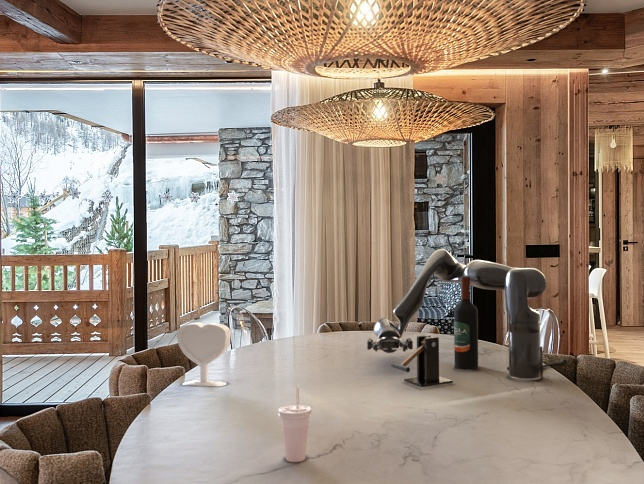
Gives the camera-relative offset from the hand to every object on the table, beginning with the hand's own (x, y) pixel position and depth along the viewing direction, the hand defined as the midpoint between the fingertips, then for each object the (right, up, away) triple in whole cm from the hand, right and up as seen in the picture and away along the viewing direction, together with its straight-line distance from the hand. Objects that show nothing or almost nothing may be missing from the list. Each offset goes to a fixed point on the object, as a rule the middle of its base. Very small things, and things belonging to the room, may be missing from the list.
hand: (390, 348), depth 184 cm
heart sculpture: (-56, -10, -4) cm, 57 cm away
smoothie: (-22, -10, -66) cm, 70 cm away
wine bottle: (+25, -9, +12) cm, 30 cm away
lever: (+7, -1, -8) cm, 11 cm away
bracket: (+11, -9, -7) cm, 16 cm away
